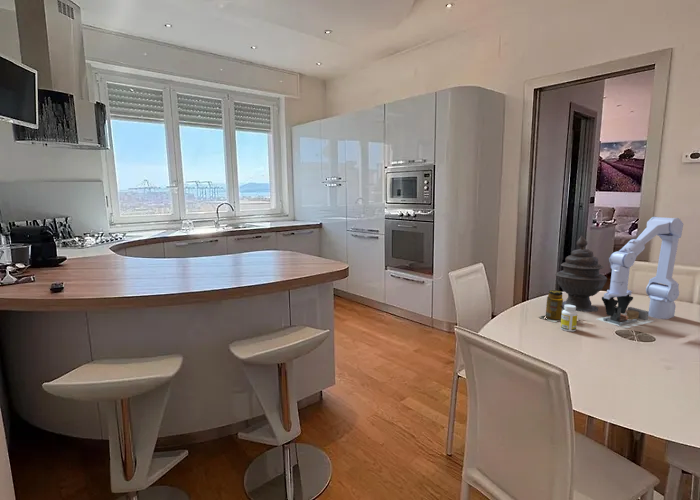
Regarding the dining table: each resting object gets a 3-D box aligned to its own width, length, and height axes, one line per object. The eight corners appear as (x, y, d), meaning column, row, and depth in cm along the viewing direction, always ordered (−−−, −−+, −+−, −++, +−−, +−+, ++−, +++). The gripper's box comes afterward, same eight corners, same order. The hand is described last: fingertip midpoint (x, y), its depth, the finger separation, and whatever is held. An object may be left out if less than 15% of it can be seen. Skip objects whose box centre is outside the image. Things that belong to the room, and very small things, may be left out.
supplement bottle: (574, 328, 153) (576, 304, 151) (577, 332, 148) (579, 308, 146) (559, 326, 155) (561, 303, 153) (561, 331, 150) (563, 307, 148)
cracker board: (624, 315, 167) (625, 305, 167) (655, 324, 157) (656, 312, 156) (595, 322, 159) (596, 310, 159) (625, 331, 149) (626, 319, 148)
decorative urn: (615, 316, 164) (616, 235, 161) (564, 317, 168) (564, 238, 165) (594, 305, 184) (594, 233, 181) (549, 305, 188) (548, 235, 185)
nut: (629, 316, 162) (630, 309, 162) (640, 319, 159) (641, 312, 158) (624, 317, 161) (624, 310, 160) (634, 320, 157) (635, 313, 157)
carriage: (616, 319, 159) (617, 304, 158) (627, 322, 155) (629, 307, 154) (606, 321, 156) (608, 306, 155) (618, 324, 152) (619, 309, 151)
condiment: (565, 319, 164) (568, 292, 162) (554, 322, 159) (557, 295, 157) (548, 314, 170) (551, 288, 168) (538, 317, 165) (540, 291, 163)
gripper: (620, 277, 159) (616, 309, 161) (597, 281, 153) (594, 313, 155) (638, 281, 152) (634, 313, 155) (615, 285, 147) (612, 318, 149)
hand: (615, 314), depth 154 cm, fingers open, 7 cm apart
